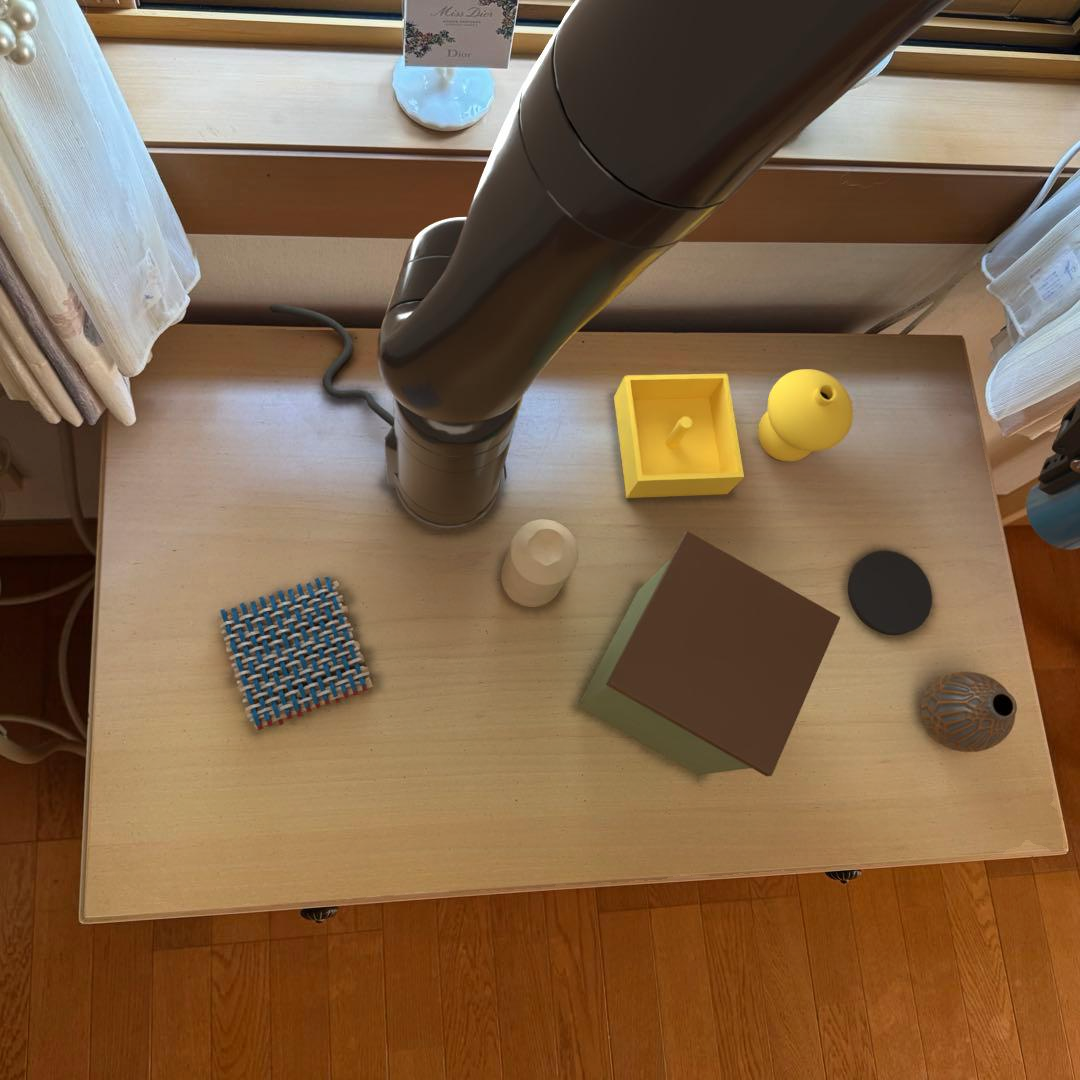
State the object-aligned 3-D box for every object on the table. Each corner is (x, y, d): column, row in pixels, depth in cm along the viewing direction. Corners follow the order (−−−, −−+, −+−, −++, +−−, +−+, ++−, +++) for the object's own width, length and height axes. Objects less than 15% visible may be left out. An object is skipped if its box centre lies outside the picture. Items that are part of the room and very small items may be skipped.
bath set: (626, 498, 84) (656, 454, 74) (613, 397, 87) (640, 342, 77) (826, 489, 87) (881, 447, 77) (807, 393, 90) (858, 339, 80)
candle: (555, 614, 80) (574, 587, 70) (494, 600, 79) (506, 571, 70) (566, 556, 82) (587, 522, 72) (507, 542, 81) (520, 506, 72)
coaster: (835, 608, 84) (839, 606, 83) (865, 538, 86) (869, 535, 85) (910, 651, 83) (915, 649, 83) (939, 579, 86) (944, 577, 85)
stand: (569, 708, 78) (608, 682, 62) (635, 582, 82) (687, 530, 67) (701, 783, 77) (772, 776, 62) (761, 653, 81) (841, 616, 66)
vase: (935, 768, 81) (995, 763, 72) (894, 698, 82) (948, 685, 74) (993, 732, 82) (1058, 723, 74) (952, 665, 84) (1011, 649, 75)
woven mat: (253, 736, 73) (249, 734, 71) (216, 616, 76) (211, 611, 74) (376, 691, 76) (375, 688, 74) (336, 576, 78) (334, 570, 76)
